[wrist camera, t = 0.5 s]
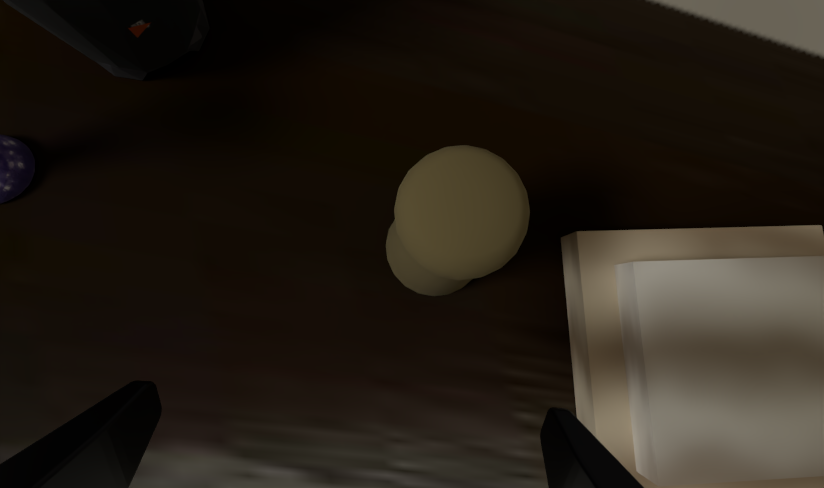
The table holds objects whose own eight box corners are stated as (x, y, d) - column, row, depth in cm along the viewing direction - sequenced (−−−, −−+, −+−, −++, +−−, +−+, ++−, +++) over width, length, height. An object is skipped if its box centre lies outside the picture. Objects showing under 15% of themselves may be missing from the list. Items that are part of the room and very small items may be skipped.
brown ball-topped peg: (388, 196, 25) (386, 115, 14) (483, 201, 26) (553, 125, 15) (383, 294, 24) (378, 285, 14) (482, 298, 25) (556, 293, 14)
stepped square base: (829, 479, 24) (915, 513, 20) (583, 495, 23) (623, 534, 19) (786, 231, 26) (856, 218, 22) (560, 237, 25) (592, 225, 22)
